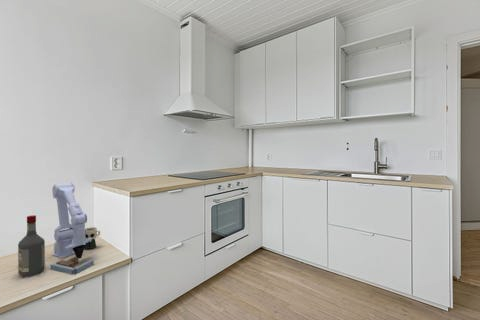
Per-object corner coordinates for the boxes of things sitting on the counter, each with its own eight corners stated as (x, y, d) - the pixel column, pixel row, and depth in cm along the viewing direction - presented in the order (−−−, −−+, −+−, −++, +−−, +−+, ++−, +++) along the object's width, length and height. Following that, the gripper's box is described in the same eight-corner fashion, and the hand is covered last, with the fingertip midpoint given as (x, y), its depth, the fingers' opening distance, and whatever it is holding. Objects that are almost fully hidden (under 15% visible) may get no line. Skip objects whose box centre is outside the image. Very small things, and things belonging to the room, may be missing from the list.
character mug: (79, 251, 147) (79, 231, 146) (82, 247, 153) (82, 228, 153) (99, 249, 151) (99, 229, 151) (100, 244, 158) (100, 226, 157)
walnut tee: (70, 262, 133) (70, 256, 133) (82, 264, 131) (82, 258, 130) (56, 268, 126) (56, 262, 125) (68, 271, 123) (68, 265, 123)
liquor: (39, 266, 127) (38, 213, 126) (46, 271, 123) (46, 215, 122) (17, 273, 119) (16, 216, 118) (23, 279, 115) (23, 219, 114)
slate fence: (50, 269, 125) (50, 264, 125) (71, 259, 136) (71, 255, 136) (73, 274, 120) (73, 270, 120) (93, 264, 131) (93, 260, 131)
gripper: (71, 240, 125) (71, 264, 125) (95, 231, 139) (95, 253, 139) (62, 238, 127) (62, 262, 127) (86, 230, 141) (86, 252, 141)
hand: (79, 258), depth 133 cm, fingers closed
